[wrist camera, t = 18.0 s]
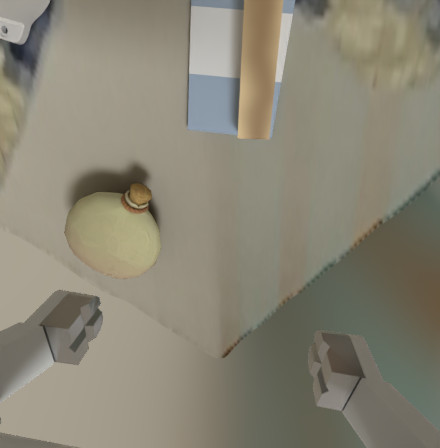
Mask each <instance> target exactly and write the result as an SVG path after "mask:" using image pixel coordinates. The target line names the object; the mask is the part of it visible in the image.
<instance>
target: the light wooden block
mask: <svg viewBox="0 0 440 448" xmlns="http://www.w3.org/2000/svg"><path fill="white" fill-rule="evenodd" d="M282 9H283V0H244V15H243V36H242V56H241V77H240V98H239V119H238V138H244V139H269V136H270V126H271V117H272V107H273V97H274V87H275V77H276V67H277V58H278V48H279V38H280V28H281V18H282Z"/></svg>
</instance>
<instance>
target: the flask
mask: <svg viewBox="0 0 440 448" xmlns="http://www.w3.org/2000/svg"><path fill="white" fill-rule="evenodd" d="M151 199H152V194H151V190H150V189H148V188H147V187H146V186H144V185H142V184H140V183H133V184H131V186H130V191H126V193H125V194H121V193H112V192H96V193H93V194H91V195H88V196H86V197H83V198H80V199H79V200H78V202H77V203H76V204H75V205H74V206H73V208H72V209H71V210H70V211H69V214H68V216H67V221H66V226H65V231H64V233H65V236H66V238H67V241H68V244H69V247H70V248H71V250H72V252H73V254H74V255H76V256H77V257H78V258H79V259H80V260H81V261H82V262H84V263H85V264H86V265H88V266H89V267H91V268H92V269H94V270H96V271H98V272H100V273H102V274H105V275H108V276H111V277H114V278H117V279H128V278H133V277H137V276H140V275H142V274H143V273H145V272H146V271H147V270H148V269H149V268H151V267H152V266H153V265H154V264H155V263H156V261H157V258H158V256H159V253H160V251H161V242H160V231H159V227H158V225H157V223H156V222H155V220H154V218H153V217H152V215H151V213H150V212H149V211H148V204H149V203H148V201H149V200H151Z"/></svg>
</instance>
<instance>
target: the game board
mask: <svg viewBox="0 0 440 448" xmlns="http://www.w3.org/2000/svg"><path fill="white" fill-rule="evenodd" d="M294 5H295V0H283V9H282V18H281V28H280V38H279V48H278V58H277V67H276V77H275V87H274V97H273V107H272V117H271V126H270V136H269V139H271V138H272V132H273V126H274V120H275V115H276V109H277V103H278V97H279V91H280V86H281V80H282V74H283V68H284V63H285V57H286V51H287V45H288V39H289V34H290V28H291V22H292V16H293V10H294ZM243 15H244V0H191V27H190V63H189V99H188V130H196V131H206V132H215V133H224V134H233V135H238V119H239V98H240V77H241V56H242V36H243Z"/></svg>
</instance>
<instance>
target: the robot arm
mask: <svg viewBox="0 0 440 448" xmlns="http://www.w3.org/2000/svg"><path fill="white" fill-rule="evenodd" d="M49 2H50V0H0V39H3V40H6V41H9V42H13V43H16V44H24V43H25V42H26V40H27V38H28V35H29V32H30V28H31V25H32V24H33V22H34V21H35V20H36V19H37V18H38V17H39V16H40V15H41V14H42V13H43V12H44V11H45V9H46V8H47V6H48V4H49ZM6 28H7V30H8V32H6ZM100 304H101V303H100V299H99V297H97V296H92V295H87V294H81V293H76V292H69V291H63V290H58V291H56V292H54V293H53V294H52V295H51V296H50V297H49V298H48V299H47V300H46V301H45V302H44V303H43V304H42V305H41V306H40V307H39V308H38V309H37V310H36V311H35V312H34V313H33V314H32V315H31V316H30V317H29V318H28V319H27V320H26V321H25V322H24V323H17V324H15V325H13V326H11V327H9V328H7V329H5V330H2V331H0V403H1V402H2V401H3V400H5V399H6V398H8V397H9V396H11V395H12V394H13V393H15V392H16V391H17V390H19V389H20V388H22V387H23V386H24V385H26V384H27V383H28V382H30V381H31V380H32V379H34V378H35V377H36V376H38V375H39V374H41V373H42V372H43V371H45V370H46V369H47V368H49V367H50V366H51V365H53V364H54V363H55V362H60V363H67V364H74V365H78V364H79V363H80V361H81V359H82V358H83V357H84V355H85V353H86V352H87V350H88V348H89V347H88V342H90V341H91V340H93V339H94V338H96V336H97V334H98V333H99V331H100V329H101V325H102V321H103V315H102V312H101V311H100V310H99V309H98V307H99V306H100ZM314 338H315V343H314V344H312V345H311V347H310V350H309V356H308V364H309V371H310V374H311V375H312V376H313V377H314V379H315V381H314V383H313V391H314V396H315V401H316V405H317V406H320V407H325V408H330V409H335V410H340V411H343V412H342V413H343V414H344V415H345V417H346V419H347V420H348V421H349V423H350V424H351V426H352V427H353V429H354V430H355V431H356V433H357V434H358V436H359V437H360V439H361V440H362V442H363V443H364V445H365V446H366V447H367V448H440V431H439V430H438V429H437V428H435V427H434V426H433V425H432V424H431V423H430V422H429V421H428V420H427V419H426V418H425V417H424V416H423V415H422V414H421V413H420V412H419V411H418V410H417V409H416V408H415V407H414V406H413V405H411V404H410V403H409V402H408V401H407V400H406V399H405V398H404V397H403V396H402V395H401V394H400V393H399V392H398V391H397V390H396V389H395V388H394V387H393V386H392V385H391V384H390V383H389V382H384V381H383V379H382V377H381V374H380V372H379V370H378V368H377V366H376V363H375V361H374V359H373V357H372V355H371V352H370V350H369V348H368V346H367V343H366V341H365V339H364V338H363V337H362V336H357V335H350V334H344V333H336V332H330V331H323V330H318V331H317V332H316V333H315V336H314ZM0 424H1V418H0ZM0 448H78V447H73V446H68V445H62V444H57V443H52V442H47V441H41V440H36V439H31V438H25V437H20V436H15V435H10V434H5V433H0Z"/></svg>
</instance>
